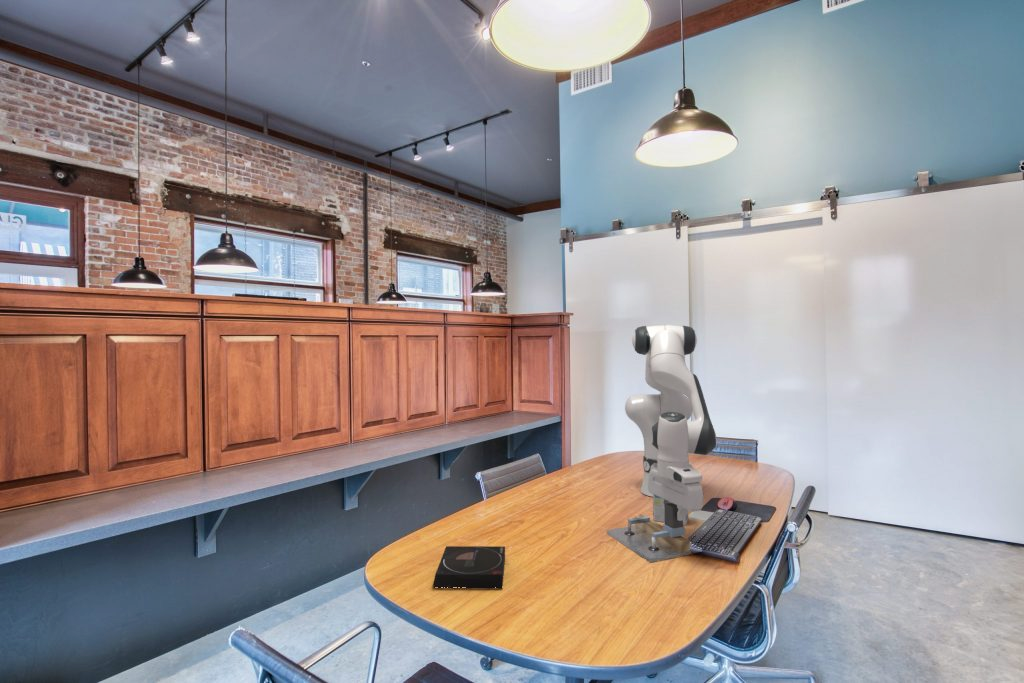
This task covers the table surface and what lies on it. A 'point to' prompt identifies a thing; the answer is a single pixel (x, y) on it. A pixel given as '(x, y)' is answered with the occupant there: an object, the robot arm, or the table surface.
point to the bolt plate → (644, 544)
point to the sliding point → (669, 524)
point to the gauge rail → (652, 527)
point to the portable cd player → (471, 567)
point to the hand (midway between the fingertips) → (673, 517)
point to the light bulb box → (659, 511)
